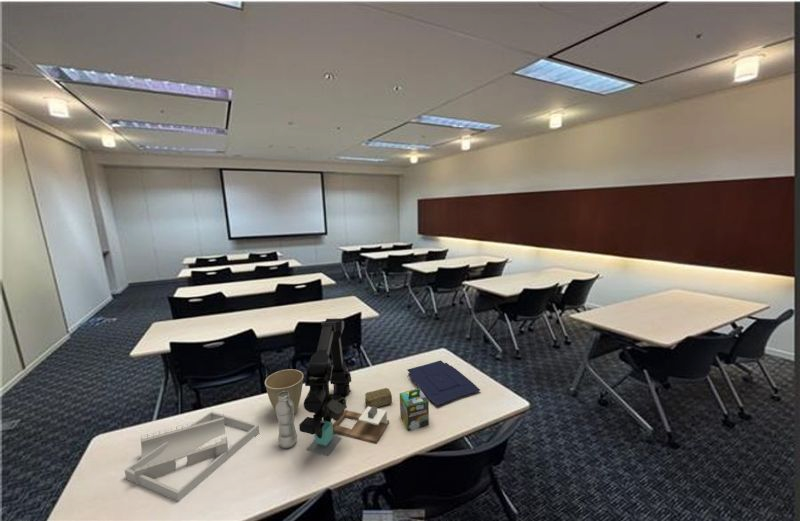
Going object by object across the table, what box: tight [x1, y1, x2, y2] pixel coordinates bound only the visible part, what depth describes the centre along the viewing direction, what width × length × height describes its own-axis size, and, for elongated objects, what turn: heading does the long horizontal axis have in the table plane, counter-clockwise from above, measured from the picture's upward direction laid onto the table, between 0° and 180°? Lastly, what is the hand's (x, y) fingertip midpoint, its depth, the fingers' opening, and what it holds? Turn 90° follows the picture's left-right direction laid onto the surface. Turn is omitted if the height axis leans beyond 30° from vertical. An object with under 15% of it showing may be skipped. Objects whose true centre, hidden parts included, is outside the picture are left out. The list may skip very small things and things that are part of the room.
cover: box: [358, 406, 388, 425], centre depth 119 cm, size 8×8×7 cm
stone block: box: [364, 387, 393, 408], centre depth 136 cm, size 6×12×5 cm, turn 107°
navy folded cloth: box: [406, 359, 481, 406], centre depth 151 cm, size 24×30×4 cm
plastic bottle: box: [275, 391, 298, 449], centre depth 113 cm, size 6×7×20 cm
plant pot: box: [264, 368, 304, 416], centre depth 131 cm, size 15×15×16 cm
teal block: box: [314, 419, 334, 446], centre depth 113 cm, size 4×4×6 cm
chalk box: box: [399, 387, 430, 432], centre depth 124 cm, size 9×9×15 cm
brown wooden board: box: [332, 409, 390, 445], centre depth 122 cm, size 20×12×2 cm, turn 69°
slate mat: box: [306, 434, 342, 457], centre depth 114 cm, size 9×9×1 cm
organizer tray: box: [124, 410, 260, 502], centre depth 110 cm, size 25×31×4 cm
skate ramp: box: [134, 413, 229, 486], centre depth 108 cm, size 25×19×10 cm
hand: (323, 433), depth 113 cm, fingers closed on teal block, 4 cm apart
